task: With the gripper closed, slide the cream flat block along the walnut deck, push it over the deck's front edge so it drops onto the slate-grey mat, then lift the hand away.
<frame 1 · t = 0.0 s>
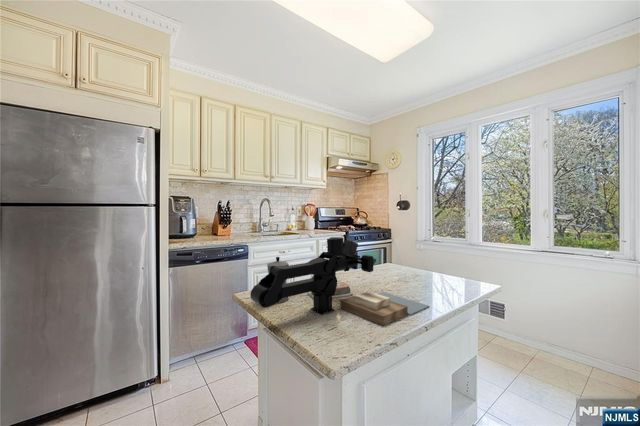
hand: (367, 258, 114), 17 cm above the countertop, tool horizontal, fingers open, 9 cm apart
packaged product: (329, 296, 116), on the countertop
cream flat block: (372, 303, 97), point 3 cm above the countertop, touching deck
mat: (395, 302, 106), on the countertop
coffeepot: (277, 301, 109), on the countertop
deck: (372, 311, 97), on the countertop
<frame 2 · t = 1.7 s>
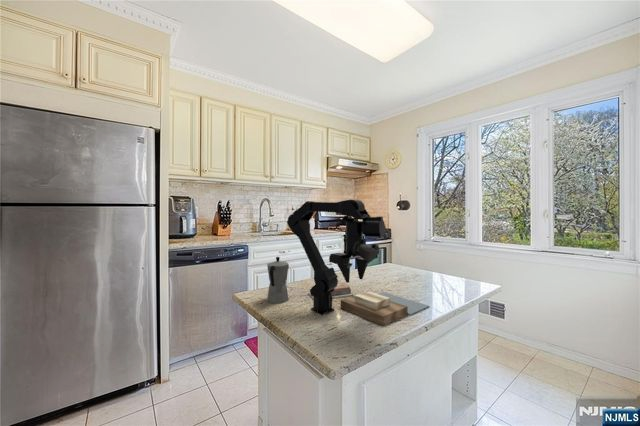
hand: (354, 280, 91), 13 cm above the countertop, tool pointing down, fingers open, 6 cm apart
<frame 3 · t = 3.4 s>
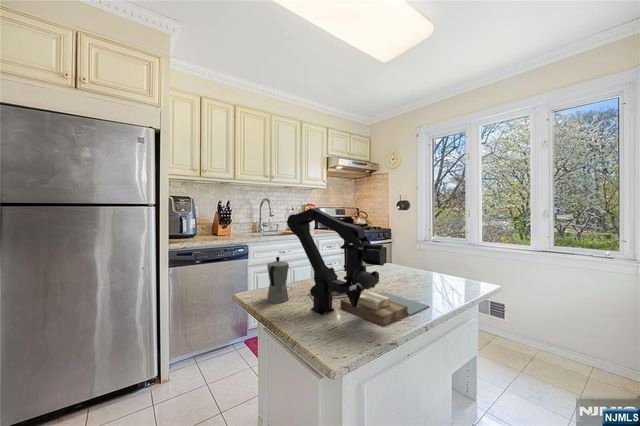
hand: (354, 307, 91), 4 cm above the countertop, tool pointing down, fingers closed
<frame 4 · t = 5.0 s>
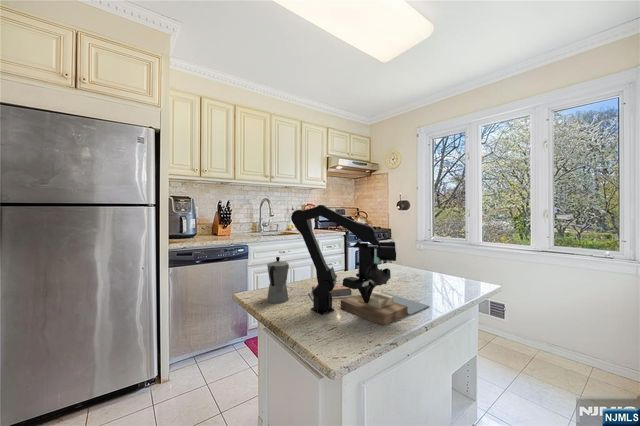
hand: (366, 303, 95), 4 cm above the countertop, tool pointing down, fingers closed
cream flat block: (375, 302, 98), point 3 cm above the countertop, touching deck
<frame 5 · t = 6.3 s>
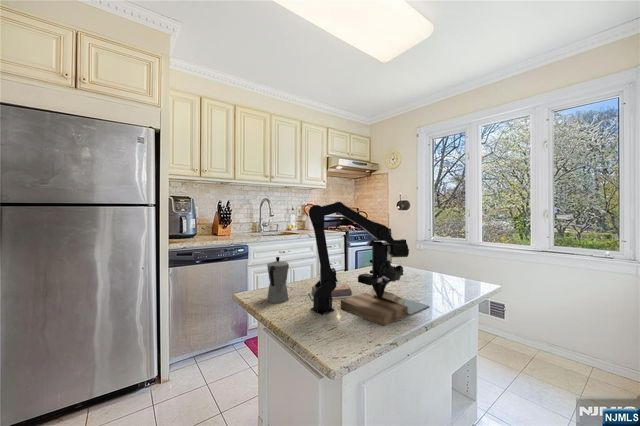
hand: (379, 298, 99), 4 cm above the countertop, tool pointing down, fingers closed
cream flat block: (386, 300, 102), point 2 cm above the countertop, tilted 29°, touching gripper, mat
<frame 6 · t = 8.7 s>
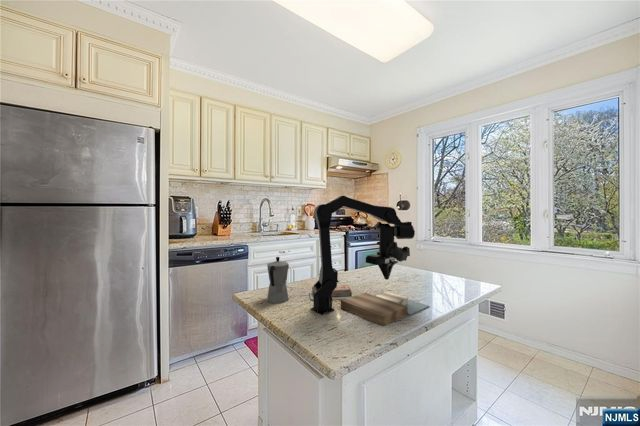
hand: (386, 279, 102), 11 cm above the countertop, tool pointing down, fingers closed
cream flat block: (390, 303, 104), resting on mat
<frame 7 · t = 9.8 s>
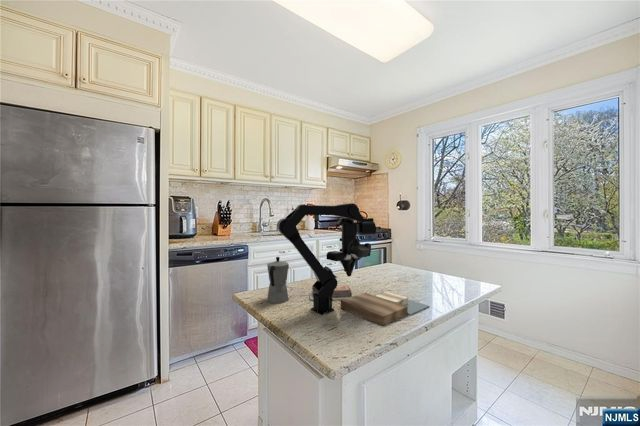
hand: (349, 276, 101), 12 cm above the countertop, tool pointing down, fingers closed
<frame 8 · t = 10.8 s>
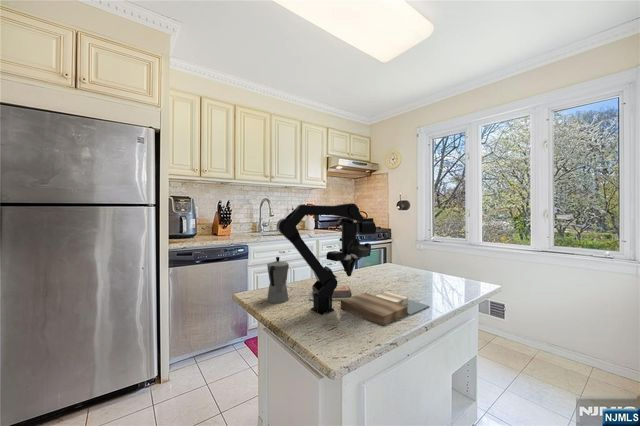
hand: (349, 276, 101), 12 cm above the countertop, tool pointing down, fingers closed
at the end: cream flat block inside the target area (2.8 cm from its centre), point 0.5 cm above the countertop; cream flat block touching mat; the gripper is holding nothing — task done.
